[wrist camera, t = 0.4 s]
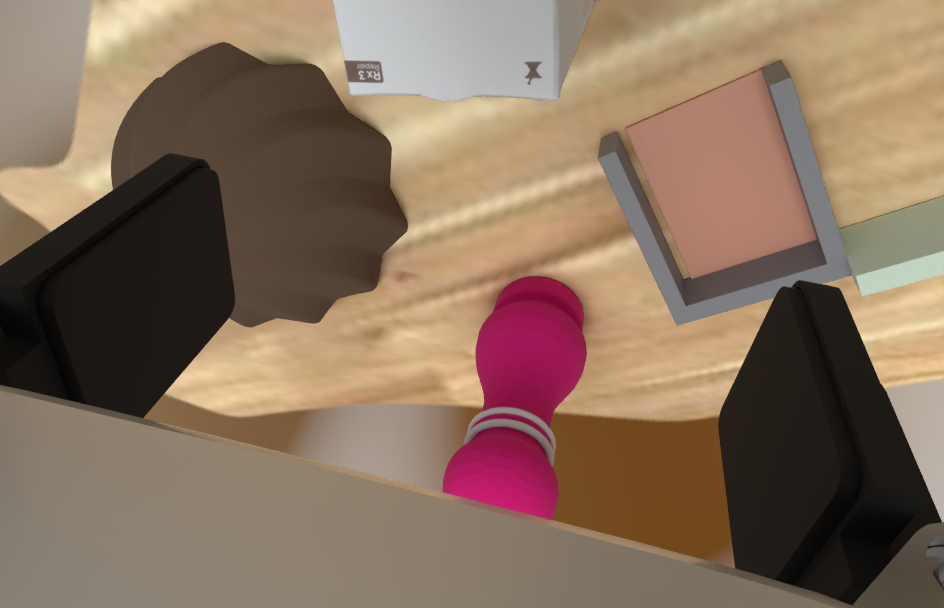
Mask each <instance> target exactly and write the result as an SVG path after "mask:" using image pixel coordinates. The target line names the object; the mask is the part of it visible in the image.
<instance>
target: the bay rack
mask: <svg viewBox="0 0 944 608" xmlns="http://www.w3.org/2000/svg"><path fill="white" fill-rule="evenodd" d="M625 129H626V132H627V134H628V136H629V138H630V141H631V143H632V145H633V148H634V150H635V152H636V154H637V157H638V159H639V161H640V163H641V166H642V168H643V170H644V173H645V175H646V177H647V179H648V182H649V184H650V186H651V189H652V191H653V193H654V195H655V198H656V200H657V202H658V204H659V207H660V209H661V211H662V214H663V216H664V218H665V220H666V223H667V225H668V227H669V229H670V232H671V234H672V236H673V239H674V241H675V243H676V245H677V248H678V250H679V252H680V254H681V257H682V259H683V261H684V264H685V266H686V268H687V270H688V273H689V275H690V277H691V278H688V279H685V280H683V278H682V275H681V273H680V271H679V269H678V266H677V264H676V262H675V260H674V257H673V255H672V253H671V251H670V248H669V246H668V244H667V242H666V239H665V237H664V235H663V233H662V231H661V228H660V226H659V224H658V222H657V219H656V217H655V215H654V213H653V210H652V208H651V206H650V204H649V201H648V199H647V197H646V195H645V192H644V190H643V188H642V186H641V184H640V181H639V179H638V177H637V175H636V172H635V170H634V168H633V166H632V163H631V161H630V159H629V157H628V154H627V152H626V150H625V148H624V145H623V143H622V141H621V139H620V136H619V134H618V132H615V133H612V134H610V135H608V136H606V137H603V138H601V143H600V149H599V156H598V159H599V161H600V164H601V166H602V168H603V170H604V172H605V174H606V176H607V178H608V181H609V183H610V185H611V187H612V189H613V191H614V193H615V195H616V198H617V200H618V202H619V204H620V206H621V208H622V210H623V212H624V215H625V217H626V219H627V221H628V223H629V225H630V227H631V229H632V232H633V234H634V236H635V238H636V240H637V242H638V244H639V247H640V249H641V251H642V253H643V255H644V257H645V259H646V261H647V264H648V266H649V268H650V270H651V272H652V274H653V276H654V278H655V281H656V283H657V285H658V287H659V289H660V291H661V293H662V295H663V298H664V300H665V302H666V304H667V306H668V308H669V310H670V312H671V315H672V317H673V319H674V321H675V323H676V325H680V324H684V323H687V322H691V321H694V320H698V319H701V318H705V317H708V316H712V315H715V314H719V313H722V312H726V311H729V310H733V309H736V308H740V307H743V306H747V305H750V304H754V303H757V302H761V301H764V300H768V299H771V298H775V296H776V294H777V292H778V290H779V289H780V288H781V287H783V286H786V287H792V286H793V284H794V283H795V282H796V281H798V280H803V281H808V282H813V283H818V284H823V283H827V282H830V281H834V280H837V279H841V278H844V277H848V276H851V275H852V276H853V279H854V281H855V283H856V285H857V287H858V289H859V291H860V294H861V296H866V295H870V294H873V293H877V292H881V291H884V290H888V289H892V288H895V287H899V286H903V285H906V284H910V283H914V282H917V281H921V280H925V279H928V278H932V277H936V276H939V275H943V274H944V196H942V197H939V198H936V199H932V200H929V201H926V202H923V203H920V204H917V205H914V206H910V207H907V208H904V209H901V210H898V211H895V212H891V213H888V214H885V215H882V216H879V217H876V218H873V219H869V220H866V221H863V222H860V223H857V224H854V225H850V226H847V227H844V228H841V229H838V228H837V224H836V221H835V218H834V215H833V211H832V208H831V205H830V202H829V198H828V195H827V192H826V189H825V185H824V182H823V179H822V175H821V172H820V169H819V166H818V162H817V159H816V156H815V153H814V149H813V146H812V143H811V140H810V136H809V133H808V130H807V127H806V123H805V120H804V117H803V114H802V110H801V107H800V104H799V101H798V97H797V94H796V91H795V88H794V84H793V81H792V78H791V76H790V74H789V72H788V71H787V69H786V67H785V66H784V64H783V62H782V61H781V60H780V61H778V62H775V63H773V64H771V65H769V66H766V67H764V68H762V69H759V70H757V71H755V72H752V73H750V74H748V75H746V76H743V77H741V78H739V79H736V80H734V81H732V82H730V83H727V84H725V85H723V86H720V87H718V88H716V89H713V90H711V91H709V92H707V93H704V94H702V95H700V96H697V97H695V98H693V99H691V100H688V101H686V102H684V103H681V104H679V105H677V106H674V107H672V108H670V109H668V110H665V111H663V112H661V113H658V114H656V115H654V116H651V117H649V118H647V119H645V120H642V121H640V122H638V123H635V124H633V125H631V126H629V127H626V128H625Z"/></svg>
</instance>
